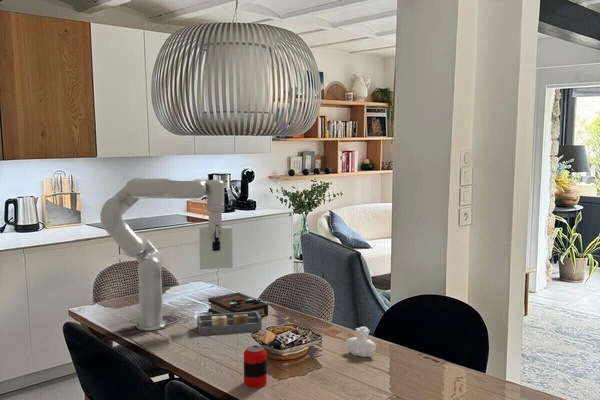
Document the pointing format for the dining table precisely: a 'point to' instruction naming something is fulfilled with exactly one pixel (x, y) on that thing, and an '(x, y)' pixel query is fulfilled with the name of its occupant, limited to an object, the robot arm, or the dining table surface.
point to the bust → (361, 344)
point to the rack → (228, 323)
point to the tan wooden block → (240, 319)
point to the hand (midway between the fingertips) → (215, 249)
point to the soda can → (255, 367)
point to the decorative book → (237, 304)
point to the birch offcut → (219, 320)
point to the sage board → (215, 258)
